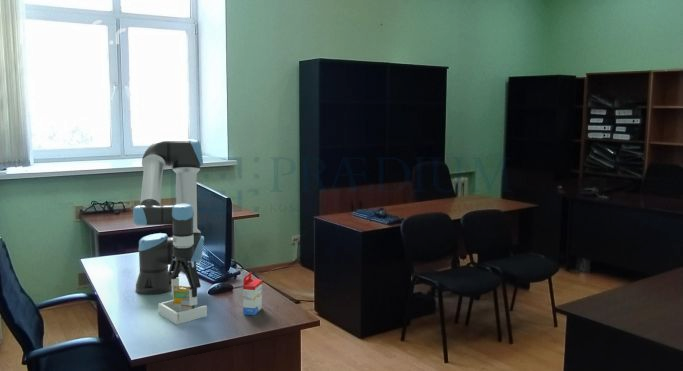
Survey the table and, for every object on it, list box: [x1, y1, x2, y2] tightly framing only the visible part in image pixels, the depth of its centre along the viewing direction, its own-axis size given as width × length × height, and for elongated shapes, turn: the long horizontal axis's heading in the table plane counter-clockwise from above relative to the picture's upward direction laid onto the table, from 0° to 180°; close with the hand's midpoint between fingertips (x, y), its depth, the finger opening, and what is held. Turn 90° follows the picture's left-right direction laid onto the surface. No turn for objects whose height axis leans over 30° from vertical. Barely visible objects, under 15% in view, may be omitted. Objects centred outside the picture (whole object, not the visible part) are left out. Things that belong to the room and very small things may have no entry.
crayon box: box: [173, 285, 196, 313], centre depth 220 cm, size 7×3×12 cm, turn 81°
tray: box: [157, 299, 208, 325], centre depth 220 cm, size 14×12×4 cm
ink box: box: [242, 271, 263, 316], centre depth 224 cm, size 8×5×15 cm, turn 168°
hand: (184, 299), depth 220 cm, fingers open, 13 cm apart
